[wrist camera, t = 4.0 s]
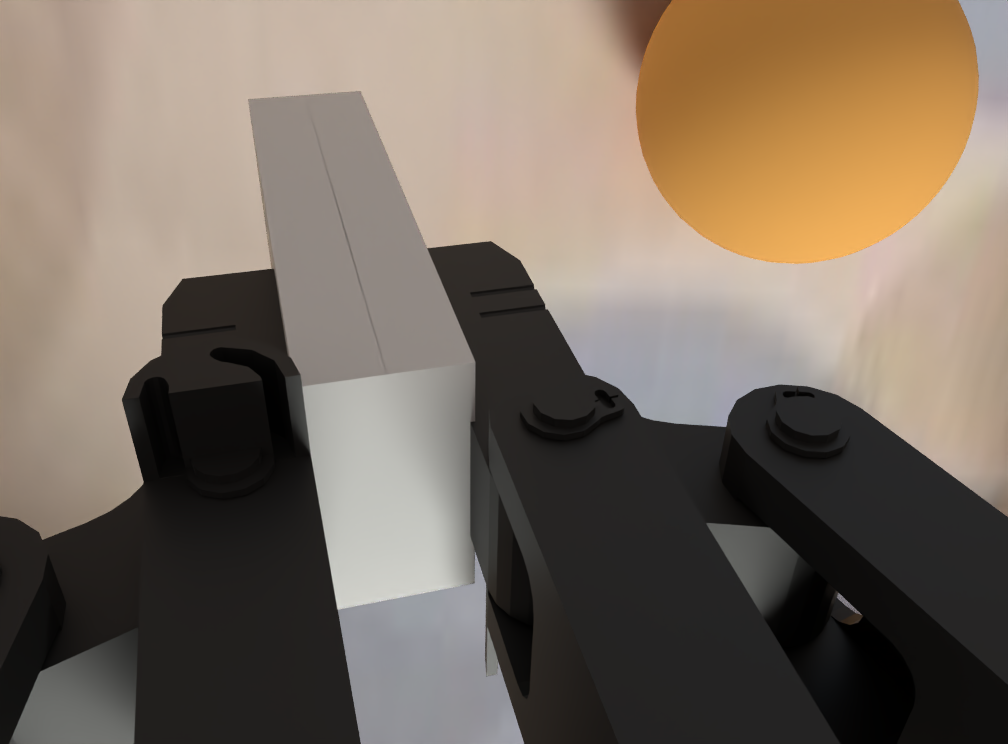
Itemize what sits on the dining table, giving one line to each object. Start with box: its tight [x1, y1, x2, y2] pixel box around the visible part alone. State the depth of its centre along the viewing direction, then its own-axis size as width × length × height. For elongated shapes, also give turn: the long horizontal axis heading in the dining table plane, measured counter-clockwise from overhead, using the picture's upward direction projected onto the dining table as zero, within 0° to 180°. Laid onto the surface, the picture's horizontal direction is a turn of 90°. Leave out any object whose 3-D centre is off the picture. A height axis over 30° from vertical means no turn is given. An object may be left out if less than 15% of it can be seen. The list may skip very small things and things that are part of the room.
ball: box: [636, 0, 979, 264], centre depth 18 cm, size 6×6×6 cm
